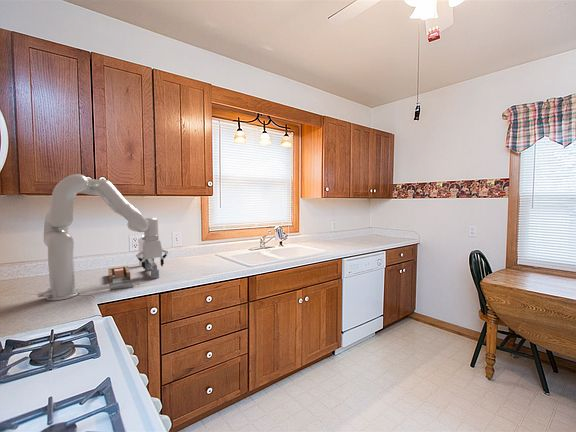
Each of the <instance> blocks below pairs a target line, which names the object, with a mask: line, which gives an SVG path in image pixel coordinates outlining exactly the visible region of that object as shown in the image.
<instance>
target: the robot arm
mask: <svg viewBox="0 0 576 432" xmlns="http://www.w3.org/2000/svg"><path fill="white" fill-rule="evenodd" d="M77 194H84V195H85V194H86V195H91V196H98V197H100V198H101V199H102V200H103V202H104V203H106V205H107V206H108V207H109V208H110V209H111V210H112V211H113V212H114V213H116V214H118V215H120V216H121V217H123V218H124V219H125V220H127V227H128V229H129V230H130V231H132V232H138V233H143V235H144V237H142V236H141V237H142V240H145V241H144V242H143V251H142V252H140V253H139V252H138V253H137V254H135V257H136V258H137V260H138V261H139V260H140V261H141V262H142V267H141V268H143V269H144V270H145V262H144V261H145V259H150V258H154V259H156V258H157V259H158V258H160V266H161V267H164V264H165V261H164V260H165V258H166V257H167V256H168V254H169V251H168V250H166V249H162V242H161V240H160V237H159V223H158V222H159V221H158V218H157V217H144V215H143V214H142V213H141V212H140V211H139V210H138V209H137V208H135V206H134V205H133V204H131V203H130V202H129V201H128V200H127V199H126V198H125V197H124V195H122V193H121V192H120V191H119V190H118V189H117V187H115V185H114V184H113V183H112V182H111V181H110V180H108V179H94V178H89V177H86V176H85V175H84V174H80V173H76V174H75V173H74V174H71V175H70V174H69V175H68V176H66V177H64V178H62V179H61V180H60V181H58V183H57V184H56V185H55V187H54V189H53V190H52V195H51V201H50V209H49V210H48V211H47V212H46V214H45V216H44V223H43V224H44V226H43V242H44V245H45V246H46V247H47V264H48V277H49V288H47V290H45V291H44V292H38V293H37V294H36V295H37V298H46V300H47V301H61V300H62V301H63V300H66V299H71V298H74V297H76V296H78V295H80V290H79V289H77V288H76V279H75V275H76V274H75V262H74V261H75V260H74V248H75V247H74V245H75V244H74V243H75V242H74V238H73V236H72V235H71V234H70V233H69V227H70V226H71V225H72V223H73V221H74V204H75V203H74V202H75V198H76V196H77ZM163 253H164V254H163ZM142 254H143V258H142V259H141V258H140V257H139V256H140V255H142Z"/></svg>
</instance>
